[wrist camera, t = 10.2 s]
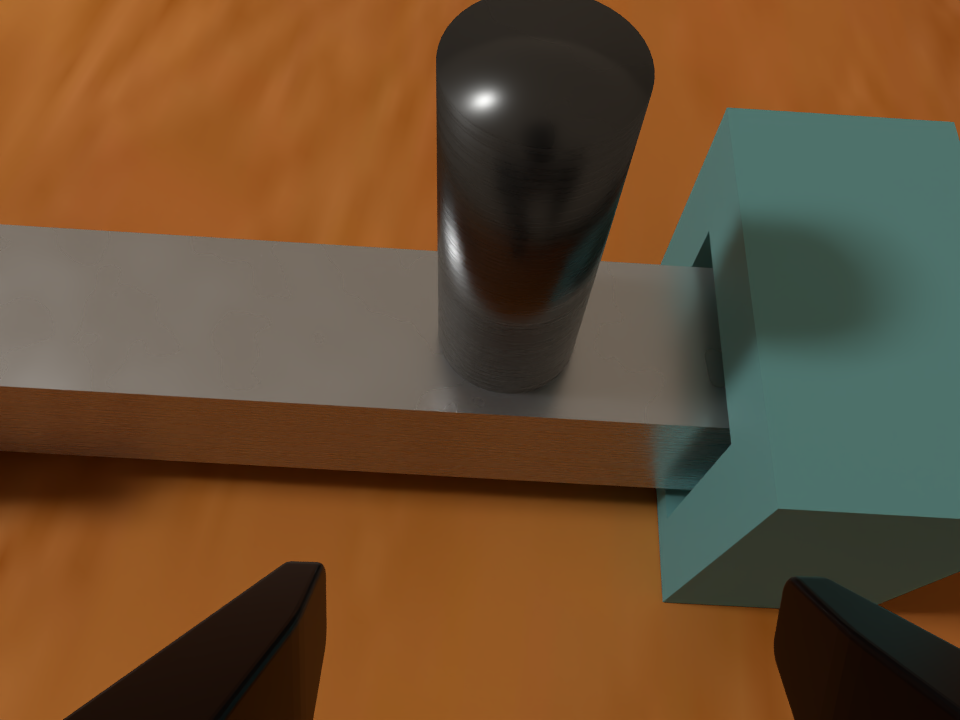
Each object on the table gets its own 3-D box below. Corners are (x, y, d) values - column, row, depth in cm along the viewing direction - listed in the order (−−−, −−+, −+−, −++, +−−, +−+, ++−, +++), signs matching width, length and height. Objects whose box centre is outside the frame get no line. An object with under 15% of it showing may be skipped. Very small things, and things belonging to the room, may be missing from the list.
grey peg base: (-213, 438, 20) (-884, 87, 10) (-148, 300, 22) (-658, -115, 12) (789, 495, 21) (1131, 214, 10) (770, 355, 22) (1045, -1, 12)
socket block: (662, 602, 21) (778, 508, 14) (645, 299, 25) (726, 108, 18) (857, 612, 21) (1074, 524, 14) (808, 310, 25) (953, 121, 18)
